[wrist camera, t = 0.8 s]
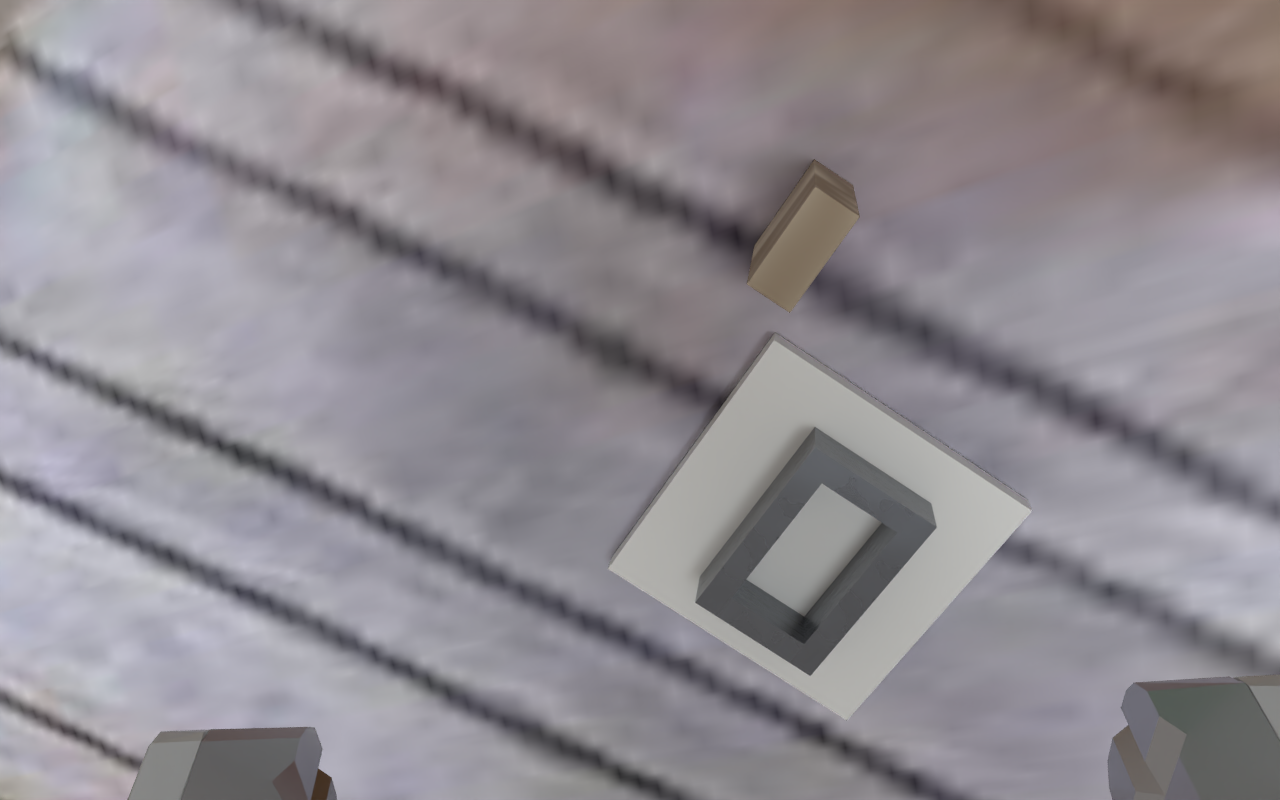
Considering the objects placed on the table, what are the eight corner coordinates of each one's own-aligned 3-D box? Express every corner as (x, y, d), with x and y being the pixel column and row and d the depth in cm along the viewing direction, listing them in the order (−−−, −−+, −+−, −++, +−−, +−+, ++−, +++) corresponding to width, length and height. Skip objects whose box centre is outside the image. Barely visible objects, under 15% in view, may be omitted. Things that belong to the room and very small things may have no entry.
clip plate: (1027, 499, 54) (1032, 510, 53) (846, 706, 59) (846, 720, 58) (775, 332, 53) (774, 340, 52) (611, 557, 58) (607, 568, 57)
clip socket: (931, 503, 53) (936, 527, 51) (810, 647, 57) (810, 676, 54) (814, 426, 53) (815, 447, 51) (699, 576, 56) (695, 602, 54)
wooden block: (852, 185, 50) (859, 216, 44) (791, 270, 52) (789, 312, 45) (814, 159, 50) (815, 186, 44) (754, 245, 52) (746, 284, 45)
